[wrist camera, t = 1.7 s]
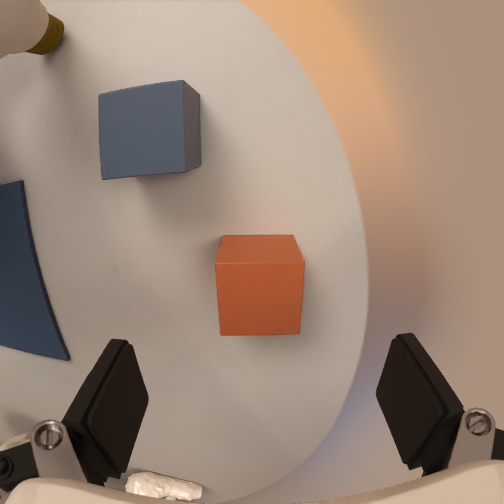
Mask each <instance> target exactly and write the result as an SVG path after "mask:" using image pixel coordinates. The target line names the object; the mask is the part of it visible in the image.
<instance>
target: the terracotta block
mask: <svg viewBox="0 0 504 504" xmlns="http://www.w3.org/2000/svg"><path fill="white" fill-rule="evenodd" d="M304 268H305V262H304V259H303V257H302V255H301V252H300V250H299V248H298V245H297V243H296V241H295V238H294V236H293V235H242V236H223V238H222V241H221V245H220V248H219V252H218V255H217V259H216V262H215V270H216V285H217V298H218V311H219V323H220V334H221V335H226V336H240V335H288V334H299V333H300V324H301V311H302V298H303V284H304Z"/></svg>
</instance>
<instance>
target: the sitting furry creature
mask: <svg viewBox="0 0 504 504" xmlns="http://www.w3.org/2000/svg"><path fill="white" fill-rule="evenodd" d="M125 487H126V491H127V492H129V493H133V494H139V495H144V496H149V497H155V498H161V499H167V500H174V501H176V498H178V499H180V500H181V499H186V500H189V501H190V500H192V499H198V498H200V497H201V493H202V486H201V485H199V484H196V483H193V482H191V481H190V482H188V481H184V480H179V479H175V478H171V477H167V476H162V475H158V474H155V473H152V472H140V473H136V474H132V476H129V477H128V481H127V483H126V486H125Z"/></svg>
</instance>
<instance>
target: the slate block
mask: <svg viewBox="0 0 504 504" xmlns="http://www.w3.org/2000/svg"><path fill="white" fill-rule="evenodd" d="M99 143H100V161H101V174H102V180H108V179H117V178H126V177H137V176H148V175H160V174H174V173H185V172H188V171H190V170H192V169H194V168H196V167H198V166H200V165H201V136H200V95H199V94H198V93H197V92H196V91H195V90H194V89H193V88H192V87H191V86H190V85H188V84H187V83H186V82H185V81H184V80H178V81H170V82H162V83H155V84H149V85H143V86H137V87H131V88H126V89H121V90H116V91H111V92H107V93H102V94H99Z"/></svg>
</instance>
